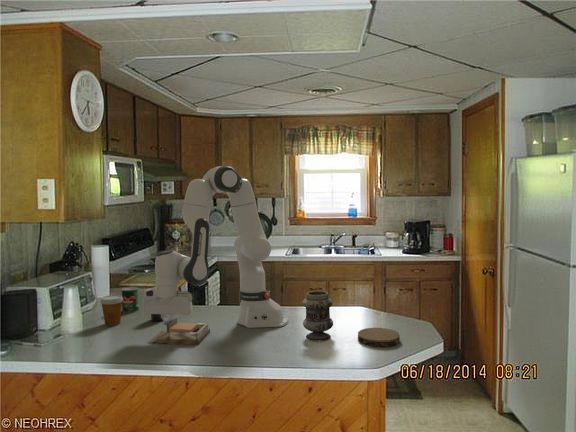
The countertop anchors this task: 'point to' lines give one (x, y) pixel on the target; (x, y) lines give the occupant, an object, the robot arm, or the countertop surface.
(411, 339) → the countertop surface
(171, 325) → the trolley
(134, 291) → the canned tomato
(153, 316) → the supplement bottle
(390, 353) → the countertop surface
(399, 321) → the countertop surface
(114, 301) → the disposable coffee cup
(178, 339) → the loading dock
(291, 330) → the countertop surface
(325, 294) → the apothecary jar
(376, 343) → the brown round disc
